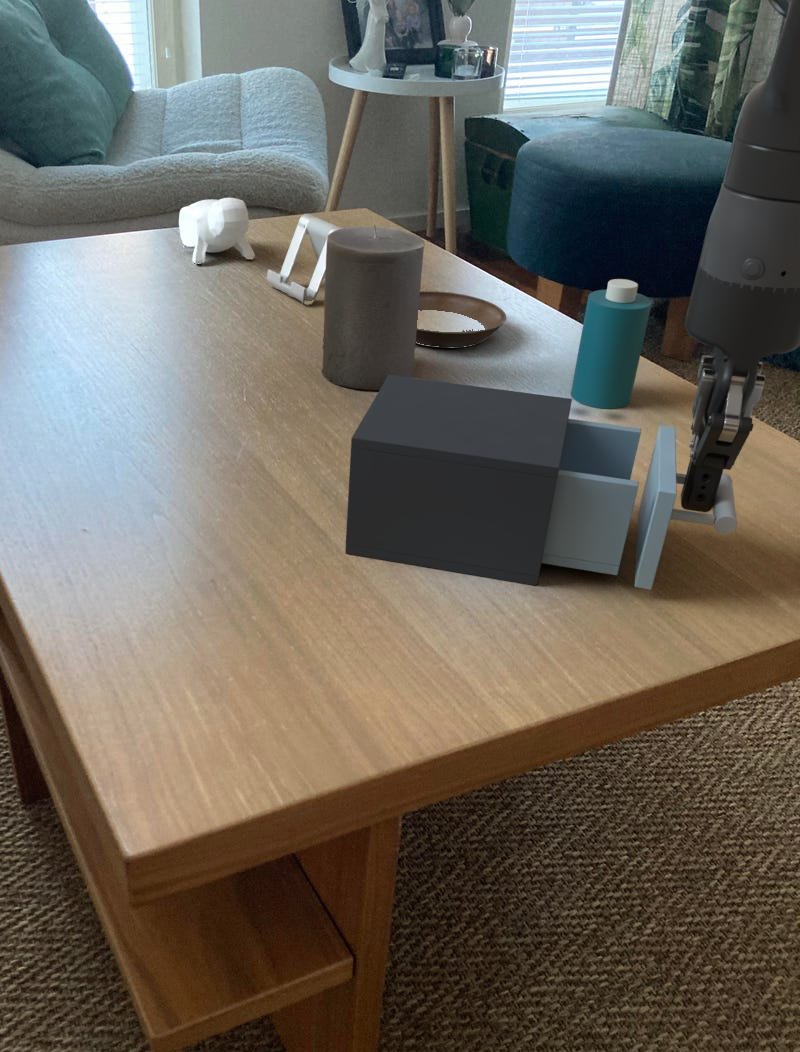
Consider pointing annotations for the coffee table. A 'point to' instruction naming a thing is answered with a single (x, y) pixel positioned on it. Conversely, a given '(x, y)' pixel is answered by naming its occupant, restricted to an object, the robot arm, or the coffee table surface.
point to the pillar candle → (370, 305)
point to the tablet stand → (318, 238)
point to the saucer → (465, 306)
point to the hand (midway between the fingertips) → (695, 505)
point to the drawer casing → (455, 477)
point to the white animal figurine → (215, 227)
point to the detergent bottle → (610, 345)
